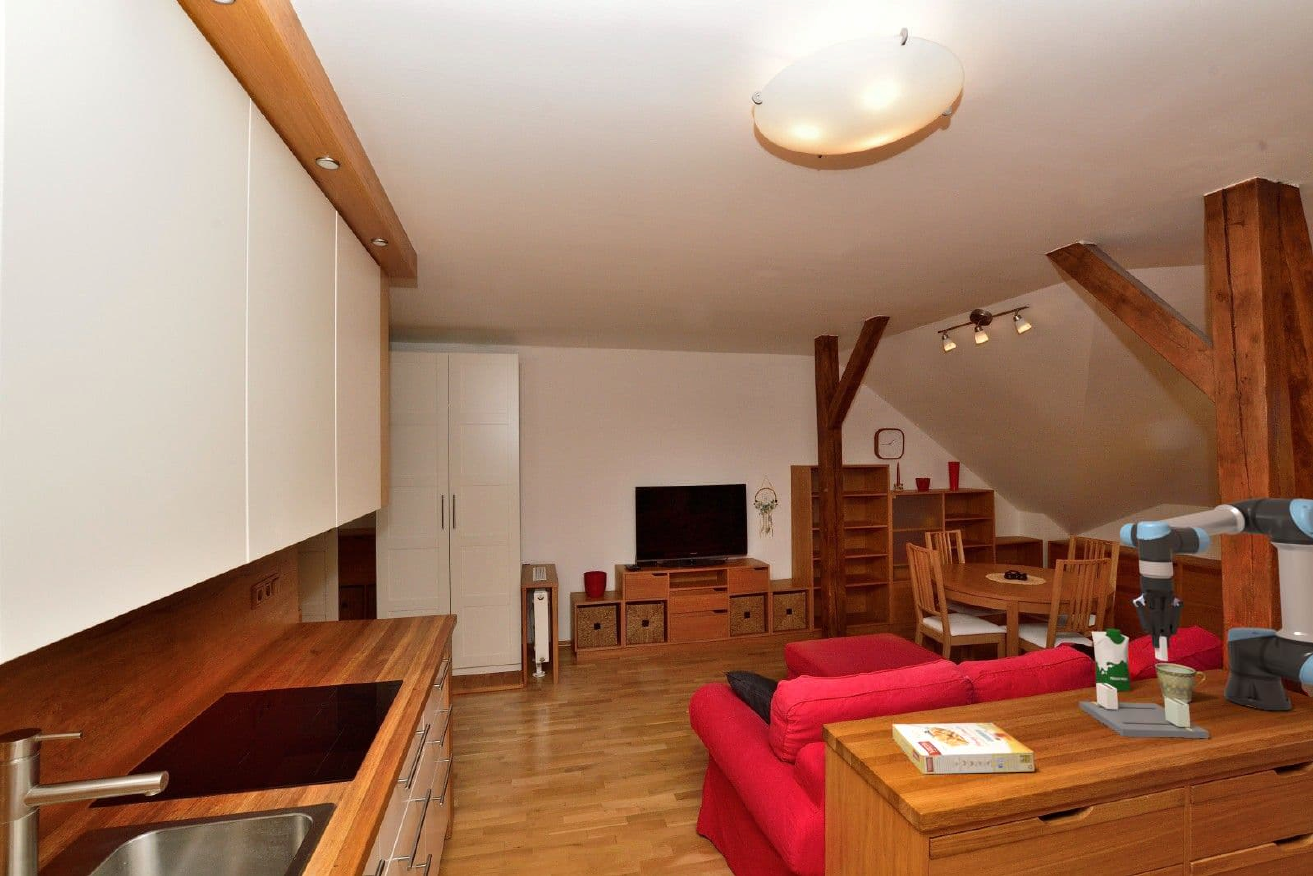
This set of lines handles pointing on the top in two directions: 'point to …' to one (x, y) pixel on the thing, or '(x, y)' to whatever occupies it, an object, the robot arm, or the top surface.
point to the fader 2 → (1177, 712)
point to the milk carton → (1112, 659)
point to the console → (1140, 720)
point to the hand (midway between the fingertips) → (1161, 659)
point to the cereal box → (962, 748)
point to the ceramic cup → (1177, 681)
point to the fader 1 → (1107, 696)
